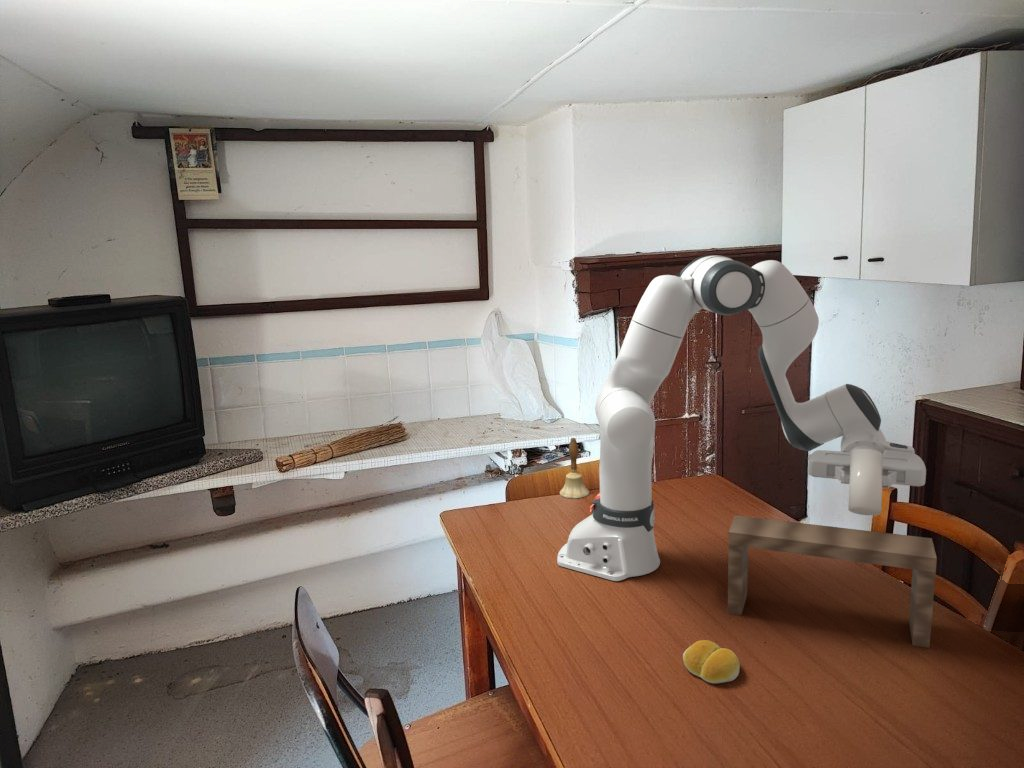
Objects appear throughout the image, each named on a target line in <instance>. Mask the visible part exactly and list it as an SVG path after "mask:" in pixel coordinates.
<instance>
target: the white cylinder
mask: <svg viewBox="0 0 1024 768" xmlns="http://www.w3.org/2000/svg"><path fill="white" fill-rule="evenodd" d="M882 469H883V454H882V453H881V452H879V451H876V450H872V449H856V450H853V451H851V455H850V480H849V484H848V486H849V487H848V504H847V505H848V506H847V507H848V511H849V512H850V513H853V514H857V515H861V516H879V515H881V514H882V510H883V509H882V508H883V507H882V505H883V487H882Z"/></svg>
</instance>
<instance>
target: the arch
mask: <svg viewBox="0 0 1024 768" xmlns="http://www.w3.org/2000/svg"><path fill="white" fill-rule="evenodd" d="M749 548H751V549H752V548H753V549H759V550H767V551H775V552H780V553H789V554H795V555H805V556H811V557H820V558H827V559H832V560H833V559H834V560H840V561H841V560H842V561H848V562H855V563H856V562H857V563H863V564H871V565H879V566H885V567H894V568H901V569H909V570H912V577H911V592H910V604H909V616H908V617H909V619H908V623H909V629H910V637H911V644H912V646H915V647H921V648H927V649H930V646H931V632H932V623H933V622H932V621H933V609H934V599H935V598H934V597H935V596H934V595H935V586H936V585H935V584H936V576H937V575H936V572H937V560H938V558H937V554H936V551H935V549H936V548H935V545H934V542H933V538H932V537H923V536H916V535H915V536H914V535H906V534H899V533H889V532H881V531H872V530H871V531H870V530H863V529H856V528H848V527H847V528H846V527H837V526H828V525H819V524H813V523H803V522H795V521H788V520H787V521H786V520H779V519H778V520H777V519H771V518H770V519H768V518H761V517H760V518H759V517H752V516H744V515H734V517H733V520H732V522H731V524H730V527H729V530H728V548H727V549H728V555H727V556H728V557H727V558H728V562H727V564H728V566H727V569H728V570H727V614H730V615H736V616H742V615H743V611H744V607H745V603H746V600H747V597H748V563H749V562H748V557H749V556H748V553H749V552H748V551H749Z"/></svg>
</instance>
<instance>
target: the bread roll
mask: <svg viewBox="0 0 1024 768" xmlns="http://www.w3.org/2000/svg"><path fill="white" fill-rule="evenodd" d="M682 660H683V664H684V666H685V668H686V669H687V670H688V672H690V673H691V674H692V675H694V676H695V677H699V678H701V679H702V680H703V681H705V682H707V683H709V684H723V683H729V682H732V681H734V680H736V678H737V677H738V676H739V675H740V674H739V673H740V668H741V663H740V660H739V658H738V656H737V655H736V654H735V652H733V651H732V650H731V649H729V648H727V647H726V648H725V647H723V648H722V647H721V646H719V645H718V644H717V643H715V642H714V641H712V640H709V639H706V640H705V639H700V640H698V641H697V640H696V642H693V643H692V644H691V645H690V646H689V647H688V648H686V649H685V650H684V652H683V654H682Z"/></svg>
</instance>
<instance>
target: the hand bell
mask: <svg viewBox="0 0 1024 768" xmlns="http://www.w3.org/2000/svg"><path fill="white" fill-rule="evenodd" d="M568 454H569V458H570V472H568V473H567V474H566V475H565V481H564V485H563V487H562V488H561V489H560V491H559V495H560V496H561V497H563V498H566V499H581V498H586V497H587V496H589V495H590V491H589V488H587V486H585V483H584V480H583V475H582V473H580V472H578V470H577V469H578V464H577V463H578V462H577V459H578V455H579V446H578V442H577V439H576V438H575V437H571V438H570V442H569V445H568Z"/></svg>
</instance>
